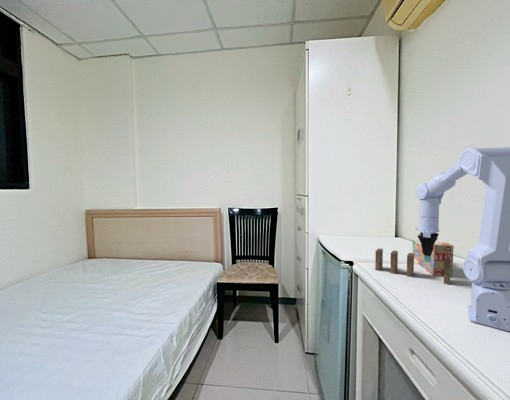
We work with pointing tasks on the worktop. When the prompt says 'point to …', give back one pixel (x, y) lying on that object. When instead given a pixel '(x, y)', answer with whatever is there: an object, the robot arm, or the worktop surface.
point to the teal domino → (427, 258)
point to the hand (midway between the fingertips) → (427, 253)
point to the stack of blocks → (434, 257)
